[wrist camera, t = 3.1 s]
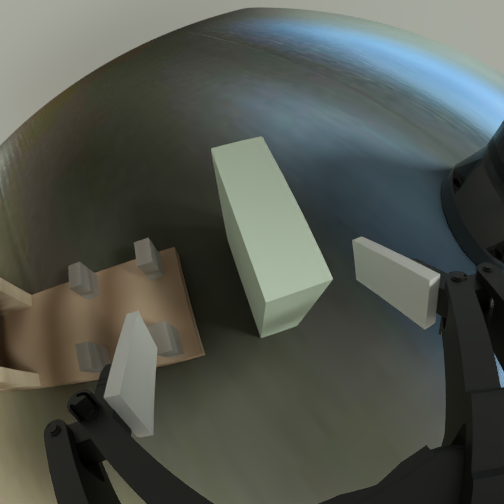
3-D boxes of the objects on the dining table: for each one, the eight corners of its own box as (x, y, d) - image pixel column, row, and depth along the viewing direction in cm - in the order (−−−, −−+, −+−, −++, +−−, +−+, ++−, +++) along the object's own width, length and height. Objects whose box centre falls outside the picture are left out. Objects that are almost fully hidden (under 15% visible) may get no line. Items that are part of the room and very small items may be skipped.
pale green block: (272, 226, 25) (281, 132, 15) (310, 320, 22) (356, 270, 12) (227, 239, 25) (210, 148, 15) (260, 338, 21) (266, 302, 11)
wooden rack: (178, 254, 24) (110, 122, 11) (205, 355, 21) (118, 312, 7) (-7, 315, 21) (-96, 266, 8) (0, 391, 17) (-102, 367, 4)
